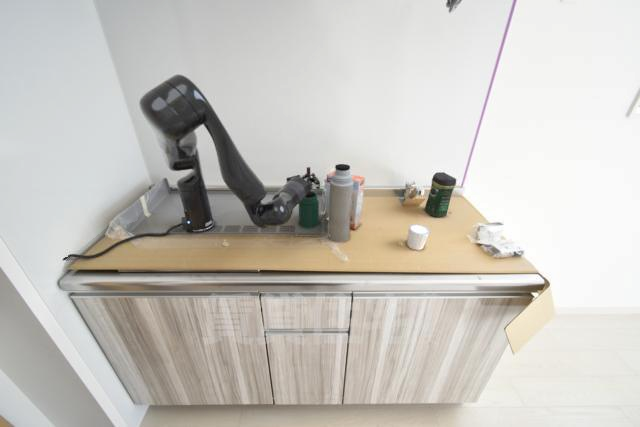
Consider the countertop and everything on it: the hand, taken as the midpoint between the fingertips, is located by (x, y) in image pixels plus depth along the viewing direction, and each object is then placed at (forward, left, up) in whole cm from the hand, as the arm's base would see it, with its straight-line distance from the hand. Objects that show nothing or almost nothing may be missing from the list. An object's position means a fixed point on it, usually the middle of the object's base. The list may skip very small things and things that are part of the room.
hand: (311, 175), depth 94 cm
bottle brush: (-2, -2, -16) cm, 16 cm away
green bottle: (-2, -2, -20) cm, 20 cm away
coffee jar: (+54, -20, -20) cm, 61 cm away
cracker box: (+11, -8, -20) cm, 24 cm away
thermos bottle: (+4, -16, -20) cm, 26 cm away
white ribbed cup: (+26, -34, -20) cm, 47 cm away
